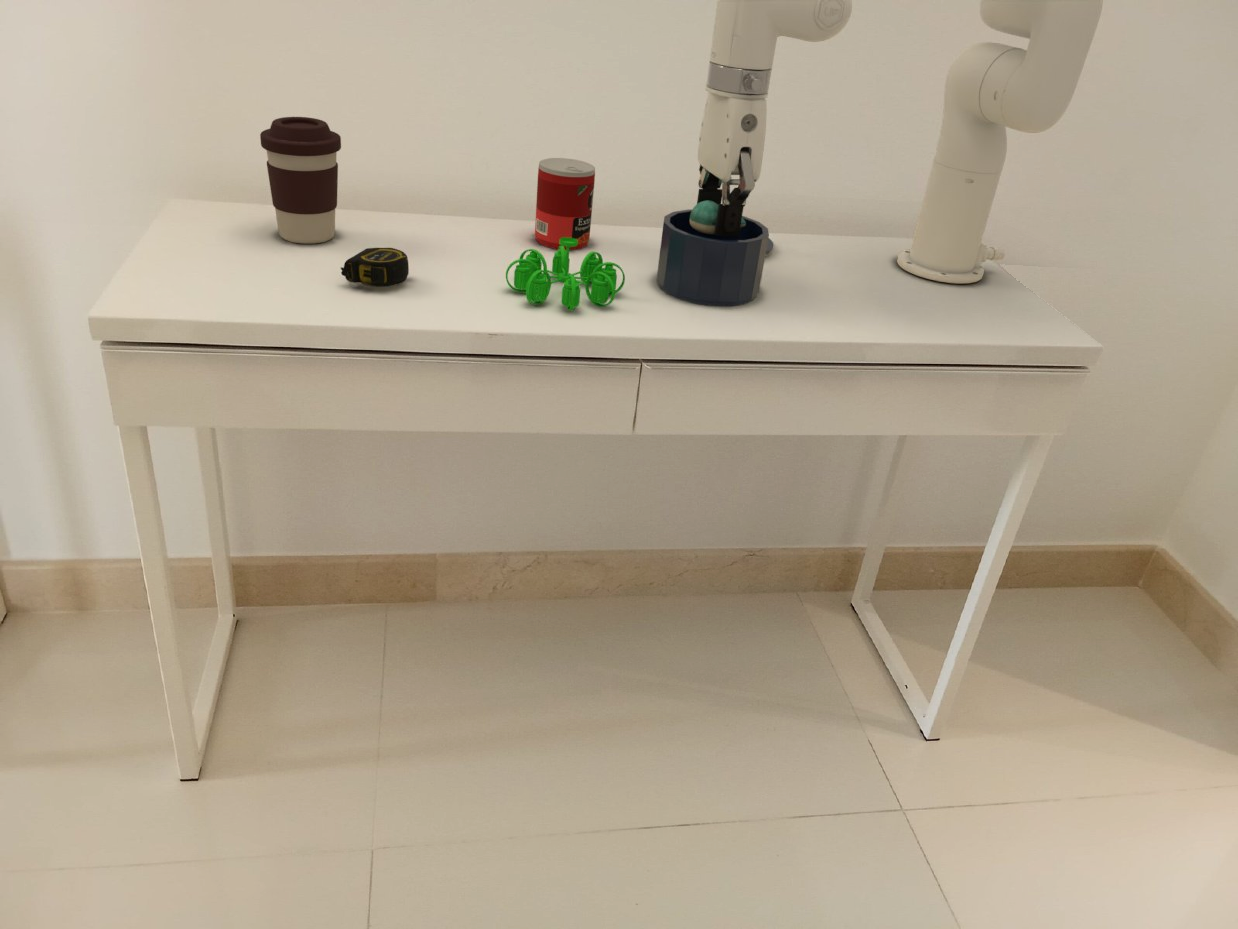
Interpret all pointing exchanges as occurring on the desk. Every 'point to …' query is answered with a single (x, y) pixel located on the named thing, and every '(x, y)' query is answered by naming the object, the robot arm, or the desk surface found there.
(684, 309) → the desk surface
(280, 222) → the coffee cup
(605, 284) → the chandelier
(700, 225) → the whale figurine
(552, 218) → the canned food
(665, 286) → the tin
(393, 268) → the tape measure
